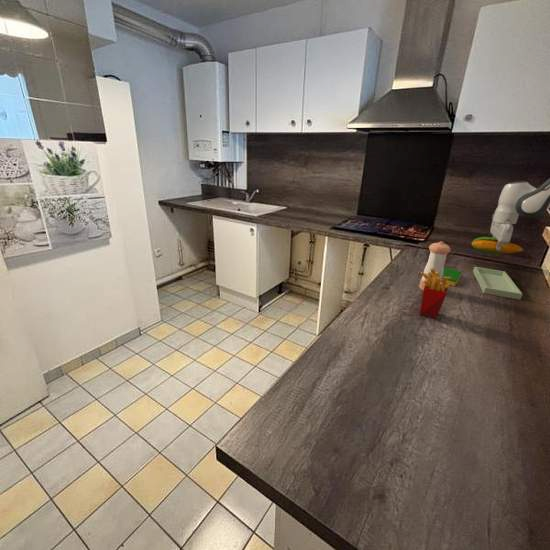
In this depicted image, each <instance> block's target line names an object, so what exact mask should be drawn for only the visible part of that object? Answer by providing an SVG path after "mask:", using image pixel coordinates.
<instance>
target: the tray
mask: <svg viewBox="0 0 550 550" xmlns="http://www.w3.org/2000/svg"><path fill="white" fill-rule="evenodd" d="M472 273H473V275H474V277H475V278H476V281H477V283H478V285H479V287H480V289H481V291H482V293H483V294H486V295H491V296H496V297H503V298H506V299H507V298H508V299H514V300H522V298H523V292H522V291H521V290H520V288H519V287H518V286H517V285H516V284H515V283H514V281H513V280H512V278H511V277H510V276H509V274H508V273H507V272H506V271H505V270H499V269H492V268H487V267H486V268H485V267H479V266H474V267H473V270H472Z"/></svg>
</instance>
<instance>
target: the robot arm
mask: <svg viewBox="0 0 550 550" xmlns="http://www.w3.org/2000/svg"><path fill="white" fill-rule="evenodd" d="M497 202H498V203H497V207H496V209H495V210H494V213H493V214H492V216H491V218H492V221H491V226H490V234H491V235H492V237H493V238H496V239H497V240H498V244H497V245H496V250H501V247H502V246H503V244H504V243H510V242H511V240H512V235H513V231H514V226H513V225H515V224H517V221H518V219H519V216H520V217H522V218H525V219H535V218H538V217H540V216H541V215H543V214H544V213H546V211H548V210H549V209H550V177H549V178H548V179H547V180H545V181H544V182H543V184H541V185H540V186H539V187H535V186H533V185H531V184H530V183H529V182H528V181H526V180H525V181H524V180H522V181H521V180H520V181H512V182H508V183H507V184H505V185H504V186H503V187H502V190H501V193H500V195H499V197H498V201H497Z"/></svg>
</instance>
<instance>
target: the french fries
mask: <svg viewBox="0 0 550 550" xmlns="http://www.w3.org/2000/svg"><path fill="white" fill-rule="evenodd" d="M430 270H431V272H432V274H431V273H428V276H427V274H426V273H424V270H423V271H421V272H420V274H421V276H422V277H423V276H424V277H425V279H426V280H427V281H426V280H424V281H423V282H424V283H425V287H424V291H423V290H422V291H423V292H422V298H421V304H420V311H419V315H421V316H424V317H427V318H432V319H434V320H437V318H438V315H439V314H440V311H441V309H442V305H443V303H444V301H445V299H446V296H447V293H448V289H449V288H450V285H448V284H446V280H448V279H451V276H450V277H443V280H442V281H441V280H440V277H439V272H435V271H434V269H433V268H431V269H430ZM431 279H433V281H431Z"/></svg>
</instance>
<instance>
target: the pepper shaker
mask: <svg viewBox="0 0 550 550" xmlns="http://www.w3.org/2000/svg"><path fill="white" fill-rule="evenodd" d="M428 250H429V257H428V260H427V262H426V265H425V268H424V269H423V272H424V273H426V274H427V276H428V273H431V274H432V272H431V270H430V269H431V268H433V269H434V271H435V272H439V277H440V280H442V277H443V271H444V268H445V263H446V259H447V255H449V254H450V252H451V247H450V245H448V244H446V243H445V242H444V241H439V242H433V243H431V244H430V245H429V247H428ZM424 280H426V279H425V277H424V276H423V275H422V277H421V278H420V281H419V285H418V288H419V289H420V290H421V291H424V287H425V283H424V282H423V281H424ZM426 281H427V280H426ZM431 281H433V279H431Z"/></svg>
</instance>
